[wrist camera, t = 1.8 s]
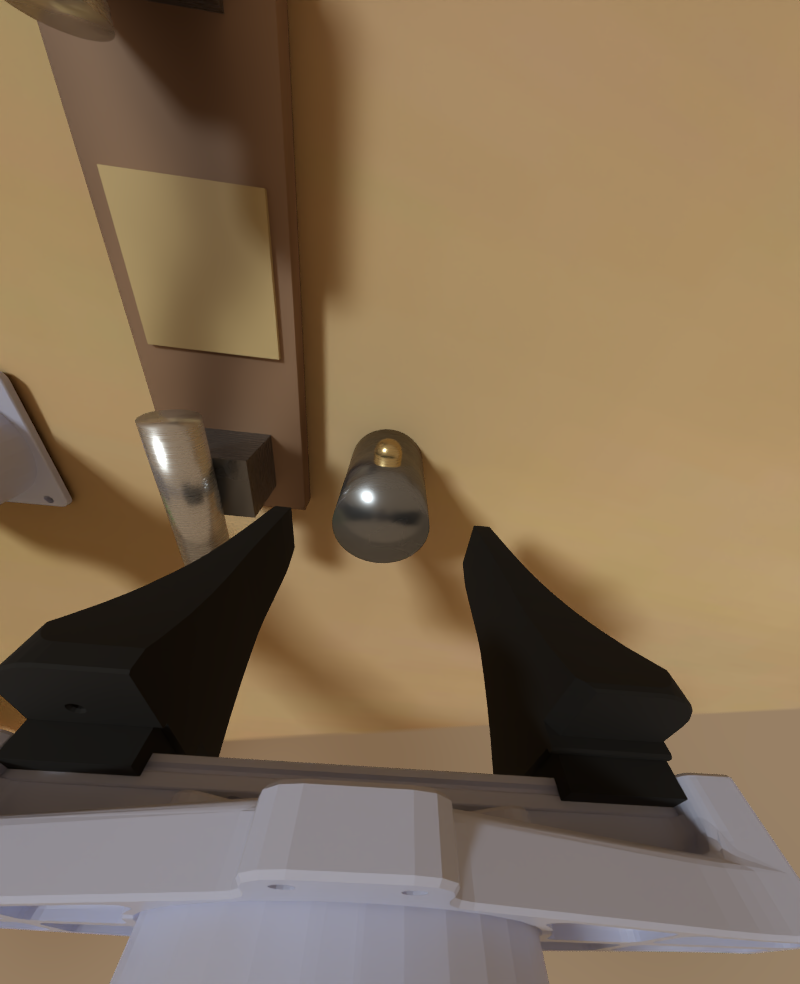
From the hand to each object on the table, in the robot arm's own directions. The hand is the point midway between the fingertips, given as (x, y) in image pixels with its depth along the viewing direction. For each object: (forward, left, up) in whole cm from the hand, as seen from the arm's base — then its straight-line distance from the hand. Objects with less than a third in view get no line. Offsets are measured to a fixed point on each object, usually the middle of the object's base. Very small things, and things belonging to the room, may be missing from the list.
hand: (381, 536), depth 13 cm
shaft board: (-8, +8, -7) cm, 13 cm away
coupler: (0, 0, -7) cm, 7 cm away
